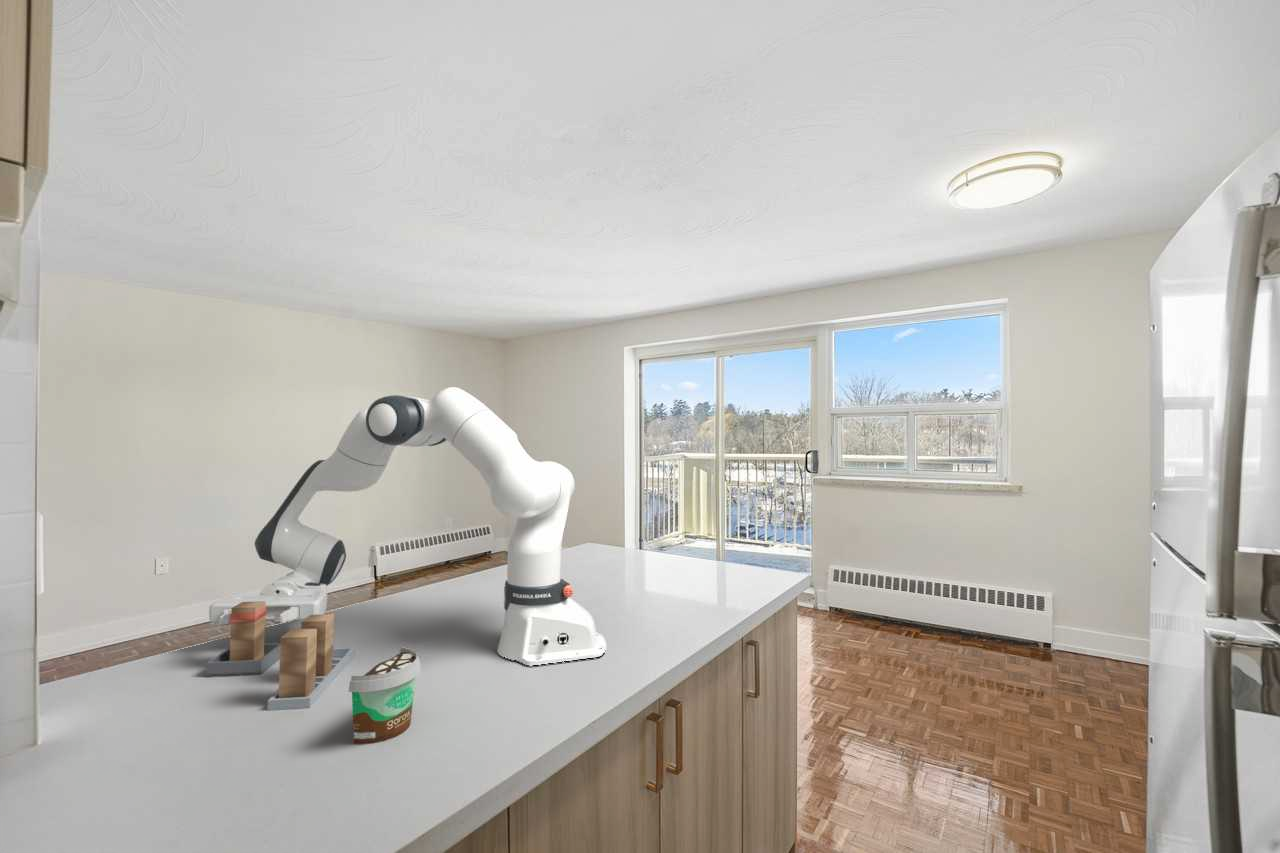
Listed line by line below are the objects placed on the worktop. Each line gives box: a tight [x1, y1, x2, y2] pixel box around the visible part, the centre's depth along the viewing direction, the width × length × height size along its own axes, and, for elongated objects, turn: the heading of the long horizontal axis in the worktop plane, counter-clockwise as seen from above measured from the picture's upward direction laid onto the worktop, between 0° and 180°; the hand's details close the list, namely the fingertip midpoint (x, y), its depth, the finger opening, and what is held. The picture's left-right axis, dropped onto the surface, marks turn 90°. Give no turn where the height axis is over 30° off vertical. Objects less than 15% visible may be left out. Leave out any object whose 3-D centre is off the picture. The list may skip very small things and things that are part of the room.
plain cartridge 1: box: [278, 628, 317, 698], centre depth 93 cm, size 4×4×11 cm
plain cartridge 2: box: [300, 613, 335, 677], centre depth 101 cm, size 4×4×11 cm
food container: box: [348, 646, 422, 745], centre depth 84 cm, size 12×6×10 cm, turn 168°
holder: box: [266, 647, 356, 711], centre depth 101 cm, size 6×22×2 cm, turn 10°
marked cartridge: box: [229, 601, 266, 661], centre depth 106 cm, size 4×4×11 cm
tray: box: [205, 642, 280, 678], centre depth 106 cm, size 9×9×2 cm
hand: (251, 620), depth 108 cm, fingers open, 8 cm apart
